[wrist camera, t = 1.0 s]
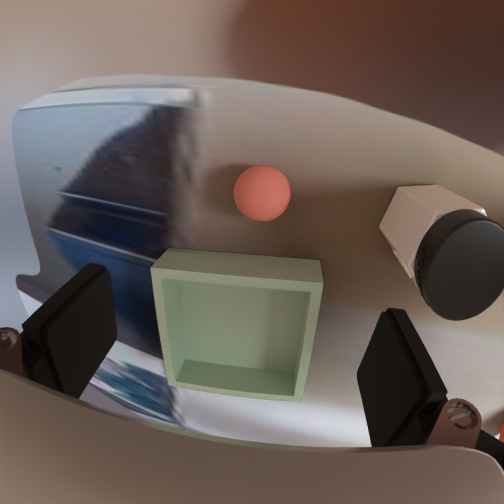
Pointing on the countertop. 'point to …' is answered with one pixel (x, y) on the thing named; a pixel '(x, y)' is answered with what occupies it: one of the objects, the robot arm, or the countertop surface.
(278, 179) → the tomato ball
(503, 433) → the french fries container
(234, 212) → the countertop surface
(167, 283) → the green bin
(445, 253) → the jar
